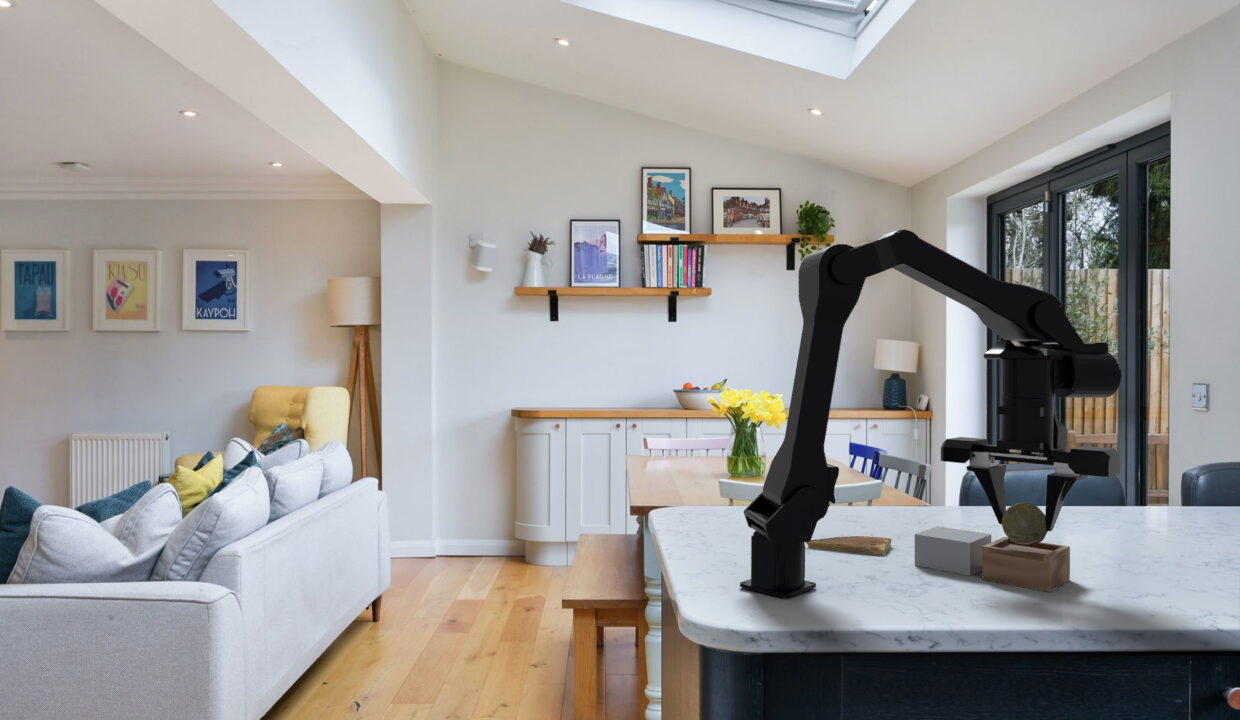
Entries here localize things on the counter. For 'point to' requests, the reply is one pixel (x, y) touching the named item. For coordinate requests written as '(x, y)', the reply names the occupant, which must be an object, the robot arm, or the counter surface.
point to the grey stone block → (950, 549)
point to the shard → (853, 544)
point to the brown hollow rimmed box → (1026, 564)
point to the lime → (1024, 524)
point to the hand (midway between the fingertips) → (1025, 527)
